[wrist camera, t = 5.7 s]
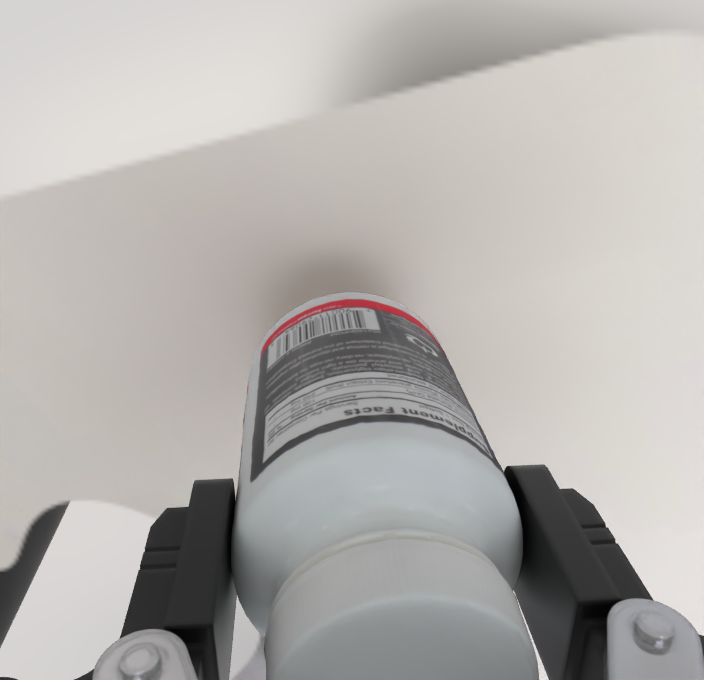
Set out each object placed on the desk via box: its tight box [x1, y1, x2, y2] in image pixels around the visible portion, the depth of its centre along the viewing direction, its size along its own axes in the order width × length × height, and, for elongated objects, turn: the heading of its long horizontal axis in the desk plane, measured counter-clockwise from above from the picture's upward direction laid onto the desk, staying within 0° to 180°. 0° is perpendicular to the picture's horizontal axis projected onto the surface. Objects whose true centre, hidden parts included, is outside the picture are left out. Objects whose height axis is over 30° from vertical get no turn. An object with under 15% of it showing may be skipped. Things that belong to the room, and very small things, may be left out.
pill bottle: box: [231, 292, 539, 680], centre depth 14 cm, size 5×5×10 cm
